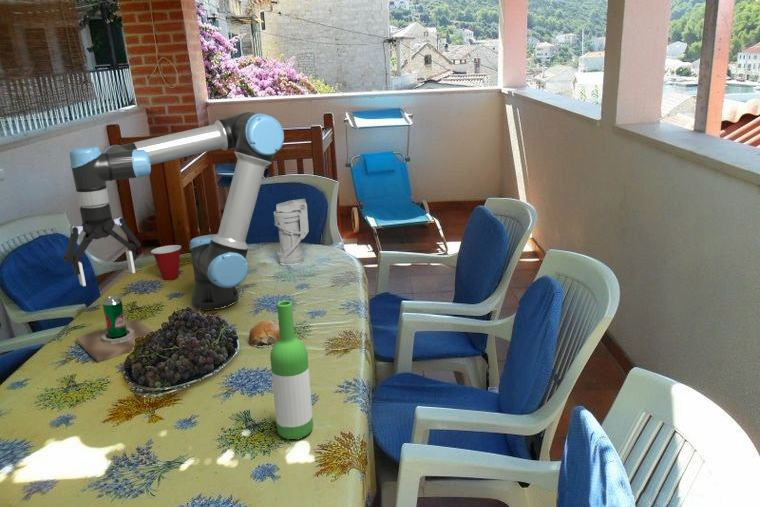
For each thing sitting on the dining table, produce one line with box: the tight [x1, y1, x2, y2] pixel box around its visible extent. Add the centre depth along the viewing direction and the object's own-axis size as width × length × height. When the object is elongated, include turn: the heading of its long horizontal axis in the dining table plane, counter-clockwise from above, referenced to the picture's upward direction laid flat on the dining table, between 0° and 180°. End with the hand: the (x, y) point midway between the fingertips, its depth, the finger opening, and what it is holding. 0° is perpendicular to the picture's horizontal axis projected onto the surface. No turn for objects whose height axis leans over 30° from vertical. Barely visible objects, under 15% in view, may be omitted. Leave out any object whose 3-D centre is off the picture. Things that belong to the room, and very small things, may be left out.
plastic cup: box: [150, 244, 182, 281], centre depth 225 cm, size 11×11×12 cm
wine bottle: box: [269, 300, 314, 440], centre depth 125 cm, size 8×8×30 cm
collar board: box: [75, 319, 154, 363], centre depth 175 cm, size 18×18×2 cm
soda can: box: [102, 295, 127, 339], centre depth 173 cm, size 5×5×12 cm
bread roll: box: [248, 319, 280, 346], centre depth 172 cm, size 10×10×8 cm
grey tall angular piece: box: [273, 198, 310, 264], centre depth 237 cm, size 13×10×25 cm
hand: (108, 278), depth 169 cm, fingers open, 13 cm apart
